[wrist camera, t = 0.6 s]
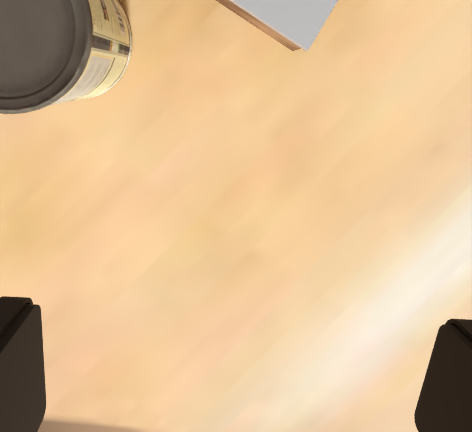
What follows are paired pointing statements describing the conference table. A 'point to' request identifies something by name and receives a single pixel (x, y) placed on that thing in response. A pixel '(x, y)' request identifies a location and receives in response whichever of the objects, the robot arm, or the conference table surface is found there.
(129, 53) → the coffee can
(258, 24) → the box
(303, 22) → the lid
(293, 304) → the conference table surface
